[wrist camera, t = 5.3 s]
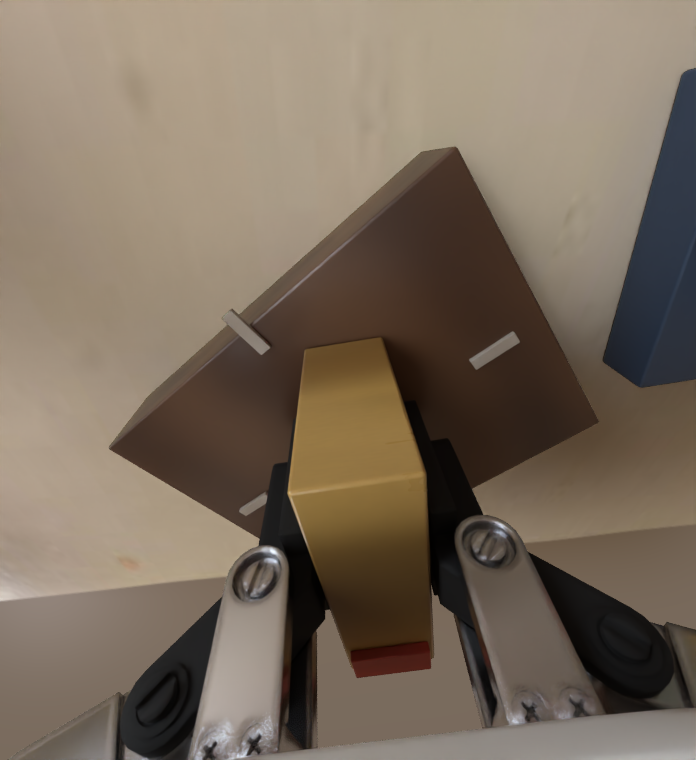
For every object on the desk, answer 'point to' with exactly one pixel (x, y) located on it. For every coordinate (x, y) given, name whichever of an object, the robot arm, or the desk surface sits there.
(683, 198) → the button box
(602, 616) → the robot arm
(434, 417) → the control panel
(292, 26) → the desk surface
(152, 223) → the desk surface
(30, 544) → the desk surface
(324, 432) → the rotary knob
